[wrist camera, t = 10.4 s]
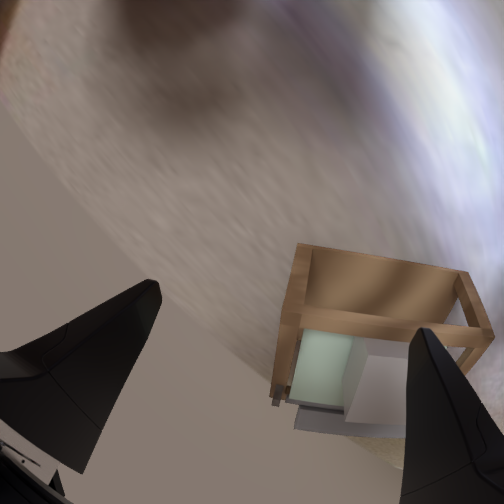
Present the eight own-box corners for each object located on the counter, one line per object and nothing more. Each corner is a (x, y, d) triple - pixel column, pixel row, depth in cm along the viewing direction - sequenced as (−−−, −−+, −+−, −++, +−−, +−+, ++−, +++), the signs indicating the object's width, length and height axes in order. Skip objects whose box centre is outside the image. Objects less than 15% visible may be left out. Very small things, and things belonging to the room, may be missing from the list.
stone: (416, 328, 18) (439, 361, 14) (396, 384, 19) (409, 424, 15) (358, 320, 19) (368, 355, 15) (341, 379, 20) (344, 421, 15)
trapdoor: (449, 328, 19) (455, 331, 18) (415, 431, 19) (418, 438, 18) (305, 308, 22) (304, 311, 21) (280, 419, 22) (279, 426, 21)
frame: (468, 272, 20) (500, 352, 13) (422, 353, 26) (429, 426, 19) (297, 243, 23) (277, 328, 16) (284, 334, 29) (265, 410, 22)
